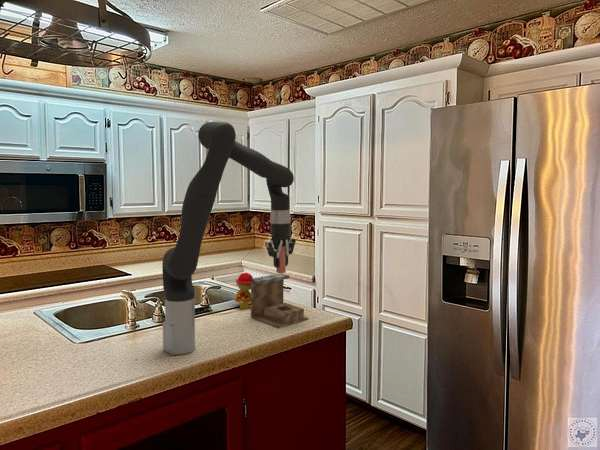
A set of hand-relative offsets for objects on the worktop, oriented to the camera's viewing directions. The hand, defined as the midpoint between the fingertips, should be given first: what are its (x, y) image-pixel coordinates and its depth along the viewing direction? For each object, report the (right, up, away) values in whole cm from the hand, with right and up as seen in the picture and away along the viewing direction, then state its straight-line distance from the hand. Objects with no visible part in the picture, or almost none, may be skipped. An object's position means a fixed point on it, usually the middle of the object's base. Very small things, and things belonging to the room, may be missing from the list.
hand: (281, 266), depth 169 cm
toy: (-16, -20, +23) cm, 34 cm away
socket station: (-1, -22, +8) cm, 23 cm away
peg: (0, -2, 0) cm, 2 cm away
